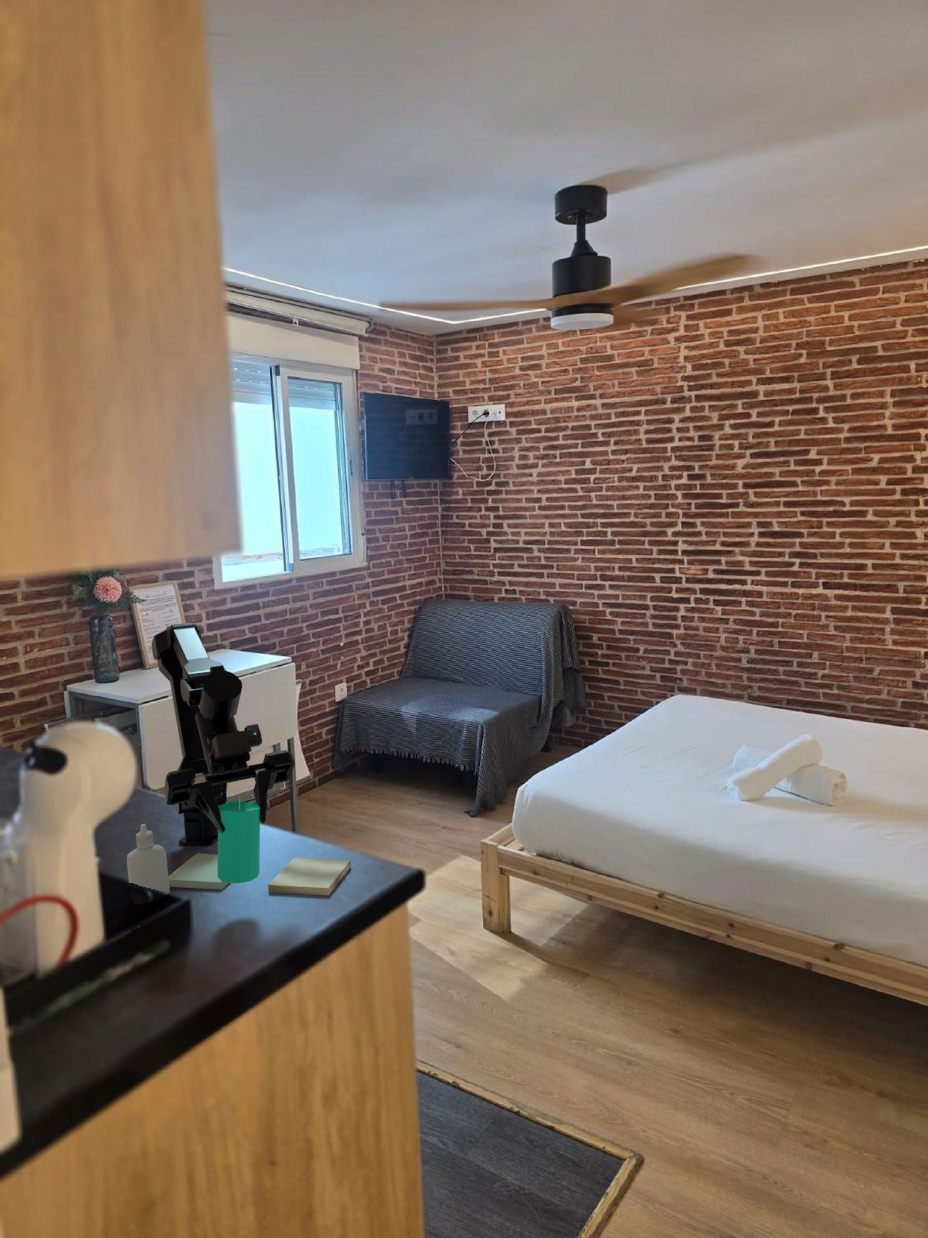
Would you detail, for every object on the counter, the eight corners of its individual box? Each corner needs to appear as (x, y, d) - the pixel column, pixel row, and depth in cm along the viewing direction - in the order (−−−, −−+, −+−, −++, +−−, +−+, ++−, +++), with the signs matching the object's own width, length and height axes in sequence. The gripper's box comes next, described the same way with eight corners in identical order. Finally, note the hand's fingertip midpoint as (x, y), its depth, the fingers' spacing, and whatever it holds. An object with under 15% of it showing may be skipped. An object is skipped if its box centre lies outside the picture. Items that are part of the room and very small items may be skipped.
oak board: (294, 864, 138) (294, 858, 138) (350, 867, 136) (350, 860, 136) (268, 892, 128) (268, 885, 128) (328, 895, 126) (328, 888, 126)
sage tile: (197, 860, 142) (196, 853, 142) (250, 862, 140) (250, 856, 139) (165, 886, 132) (164, 879, 132) (221, 889, 130) (221, 882, 130)
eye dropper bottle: (136, 893, 130) (128, 821, 128) (172, 890, 131) (165, 818, 129) (128, 906, 126) (119, 832, 124) (165, 903, 126) (157, 828, 125)
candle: (248, 885, 118) (249, 803, 117) (210, 881, 119) (210, 800, 119) (266, 870, 124) (267, 792, 123) (229, 866, 125) (230, 789, 124)
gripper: (160, 719, 118) (181, 816, 110) (286, 699, 127) (314, 788, 119) (156, 758, 126) (176, 851, 118) (275, 737, 135) (301, 822, 127)
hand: (243, 827), depth 120 cm, fingers closed on candle, 6 cm apart
